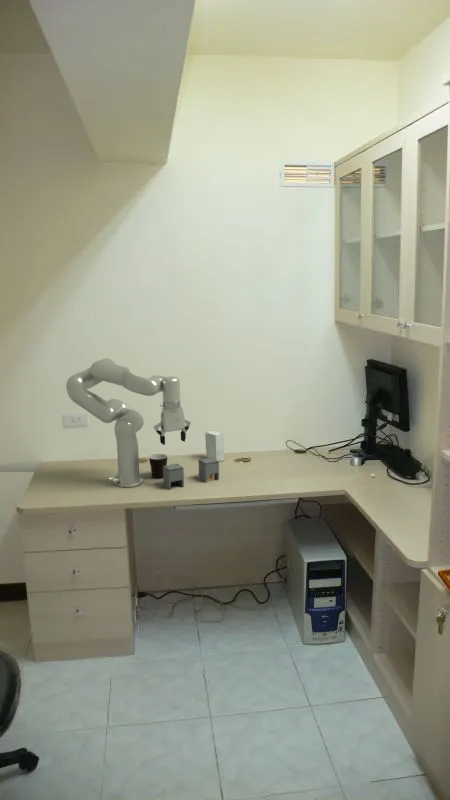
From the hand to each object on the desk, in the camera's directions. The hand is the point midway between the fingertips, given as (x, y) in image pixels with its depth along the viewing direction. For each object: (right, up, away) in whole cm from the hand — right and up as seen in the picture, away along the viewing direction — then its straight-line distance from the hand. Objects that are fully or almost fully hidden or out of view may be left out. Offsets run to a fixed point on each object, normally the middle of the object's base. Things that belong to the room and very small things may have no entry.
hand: (173, 442), depth 259 cm
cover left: (0, -20, +4) cm, 20 cm away
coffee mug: (-8, -17, +18) cm, 26 cm away
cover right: (+16, -18, +13) cm, 27 cm away
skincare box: (+18, -12, +41) cm, 46 cm away
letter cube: (+16, -18, +13) cm, 27 cm away
